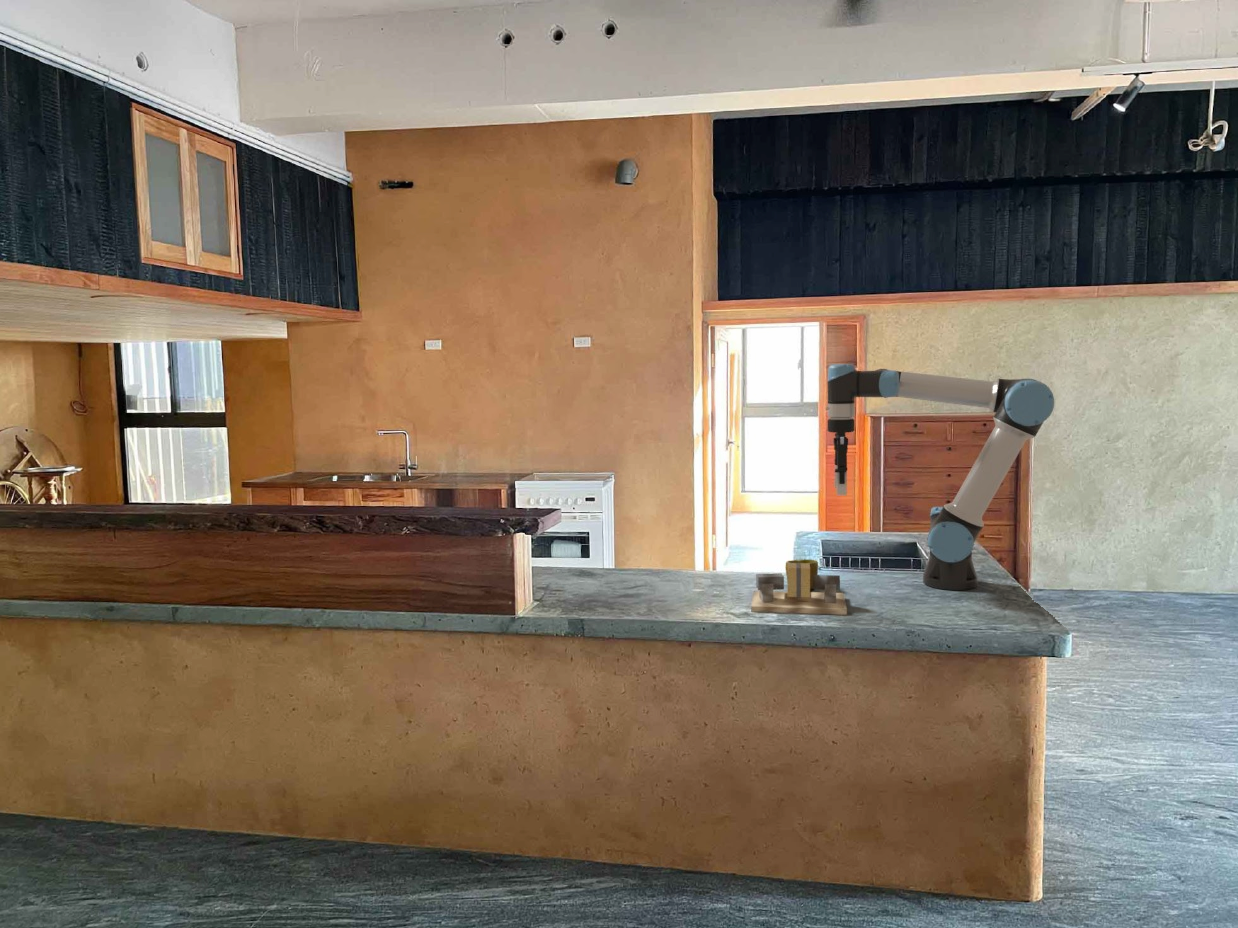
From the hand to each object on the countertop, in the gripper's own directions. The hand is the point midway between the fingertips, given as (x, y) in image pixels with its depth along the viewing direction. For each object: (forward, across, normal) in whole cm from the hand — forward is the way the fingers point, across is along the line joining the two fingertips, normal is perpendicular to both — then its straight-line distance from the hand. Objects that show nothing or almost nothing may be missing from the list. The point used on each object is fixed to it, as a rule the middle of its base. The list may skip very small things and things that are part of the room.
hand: (840, 491), depth 259 cm
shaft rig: (+29, +19, -12) cm, 36 cm away
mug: (+29, -1, -11) cm, 31 cm away
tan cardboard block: (+26, +19, -12) cm, 34 cm away
